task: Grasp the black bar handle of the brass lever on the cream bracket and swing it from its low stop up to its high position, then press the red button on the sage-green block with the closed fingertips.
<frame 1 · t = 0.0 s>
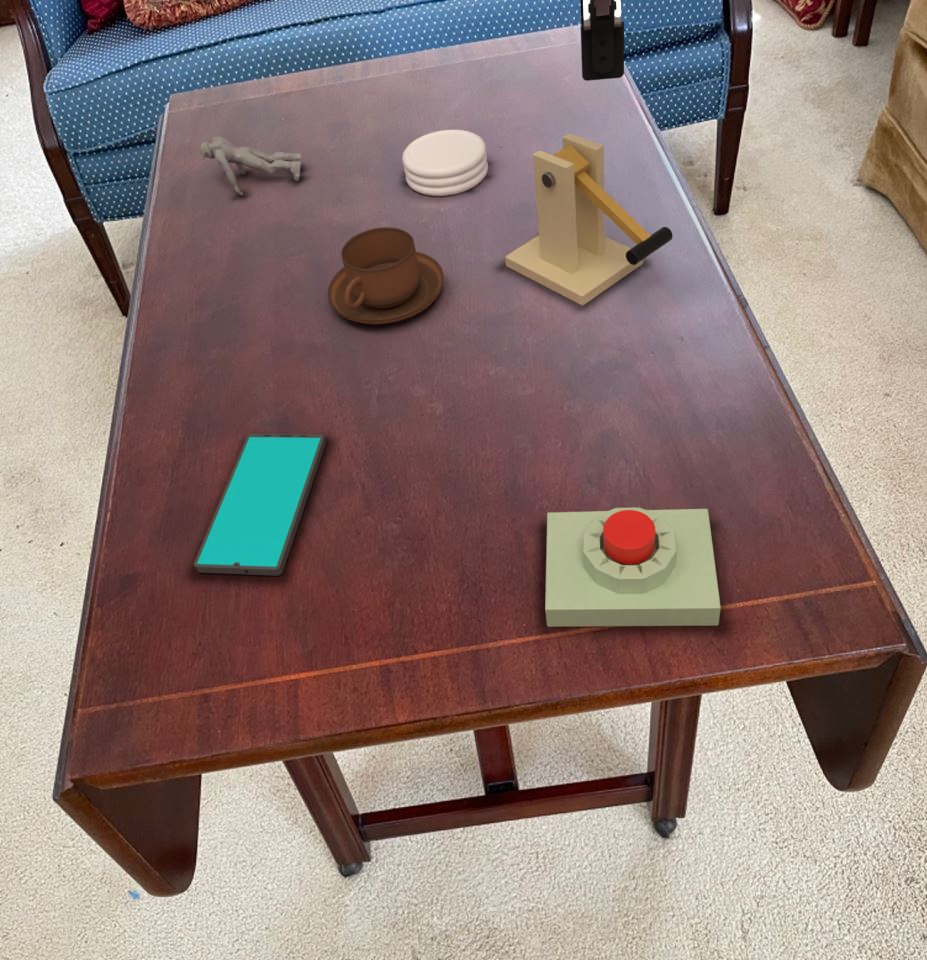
hand: (601, 50, 76), 24 cm above the table, tool pointing down, fingers open, 9 cm apart
soldier figurine: (260, 183, 118), on the table
cup and saucer: (389, 300, 97), on the table
button: (629, 536, 66), point 5 cm above the table, slide at 0.2 cm
button block: (629, 575, 70), on the table
lever: (606, 203, 88), point 9 cm above the table, hinge at -25.0°
coaster: (447, 177, 113), on the table
bracket: (573, 265, 97), on the table
smartphone: (265, 504, 79), on the table
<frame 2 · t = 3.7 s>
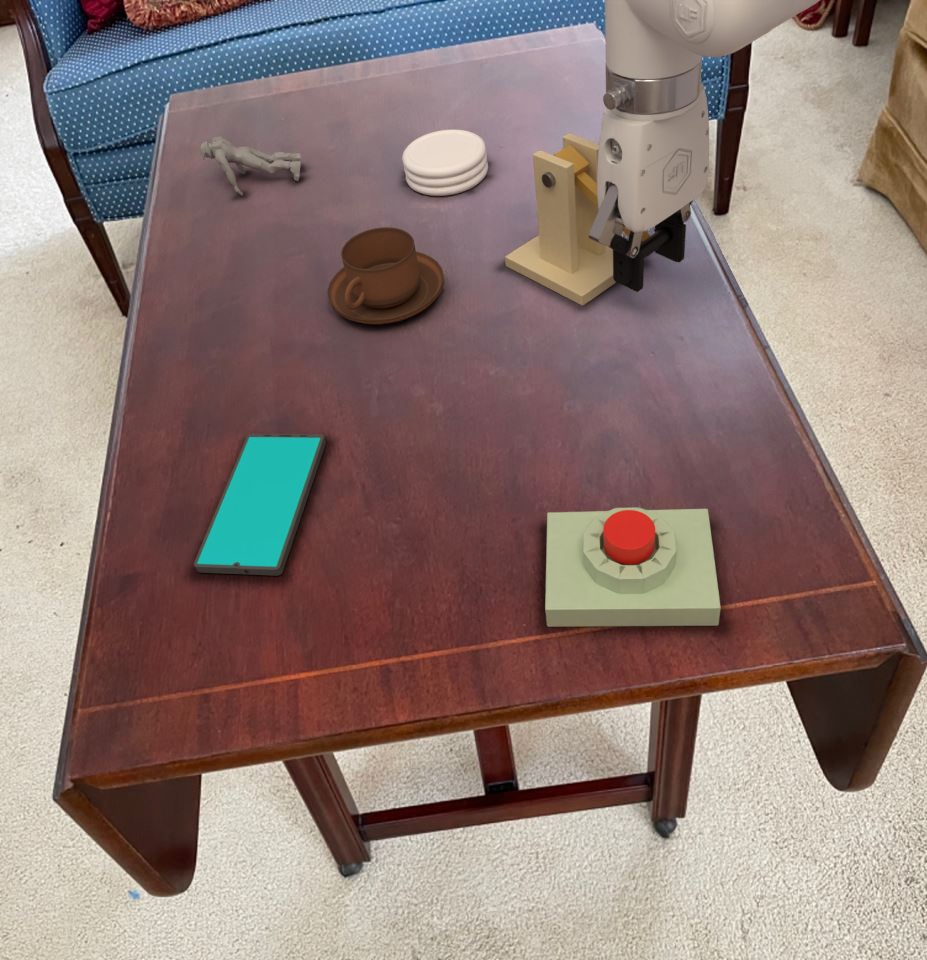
hand: (648, 269, 89), 4 cm above the table, tool pointing down, fingers closed on lever, 5 cm apart
lever: (606, 203, 88), point 9 cm above the table, hinge at -25.0°, touching gripper
everything else where it was.
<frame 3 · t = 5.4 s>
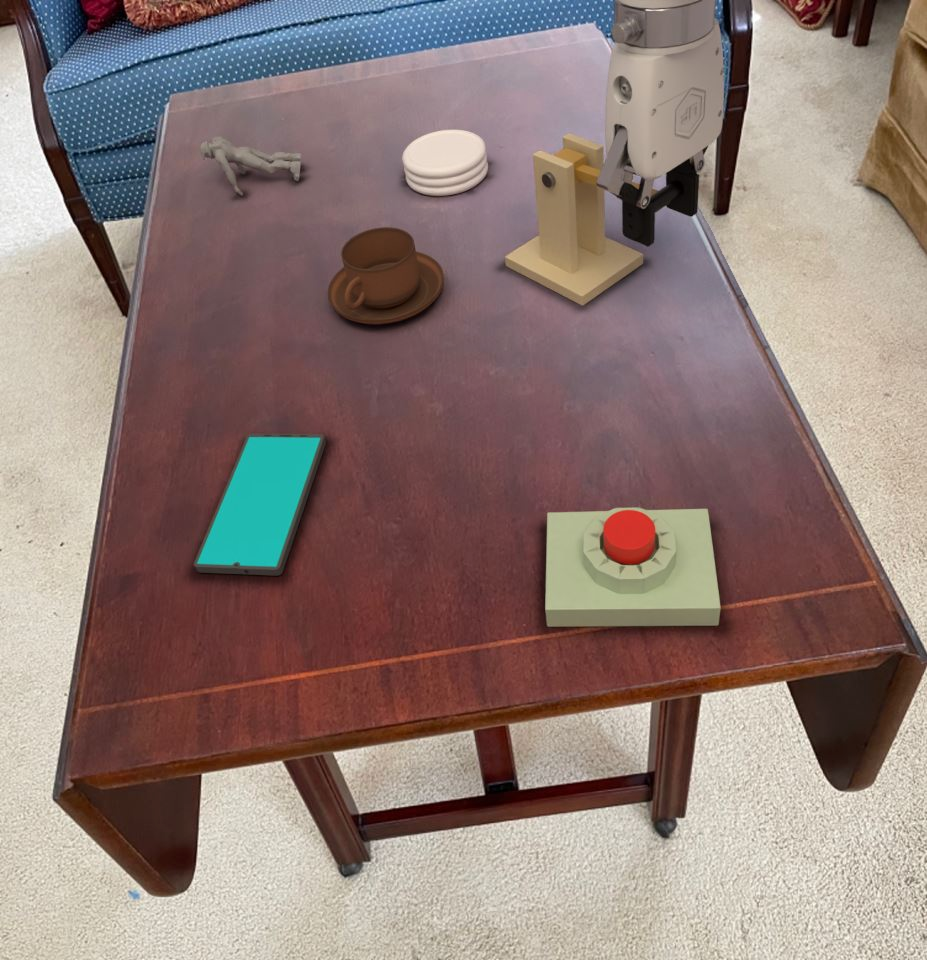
hand: (660, 223, 84), 9 cm above the table, tool pointing down, fingers closed on lever, 5 cm apart
lever: (609, 182, 86), point 11 cm above the table, hinge at 2.4°, touching gripper
everything else where it was.
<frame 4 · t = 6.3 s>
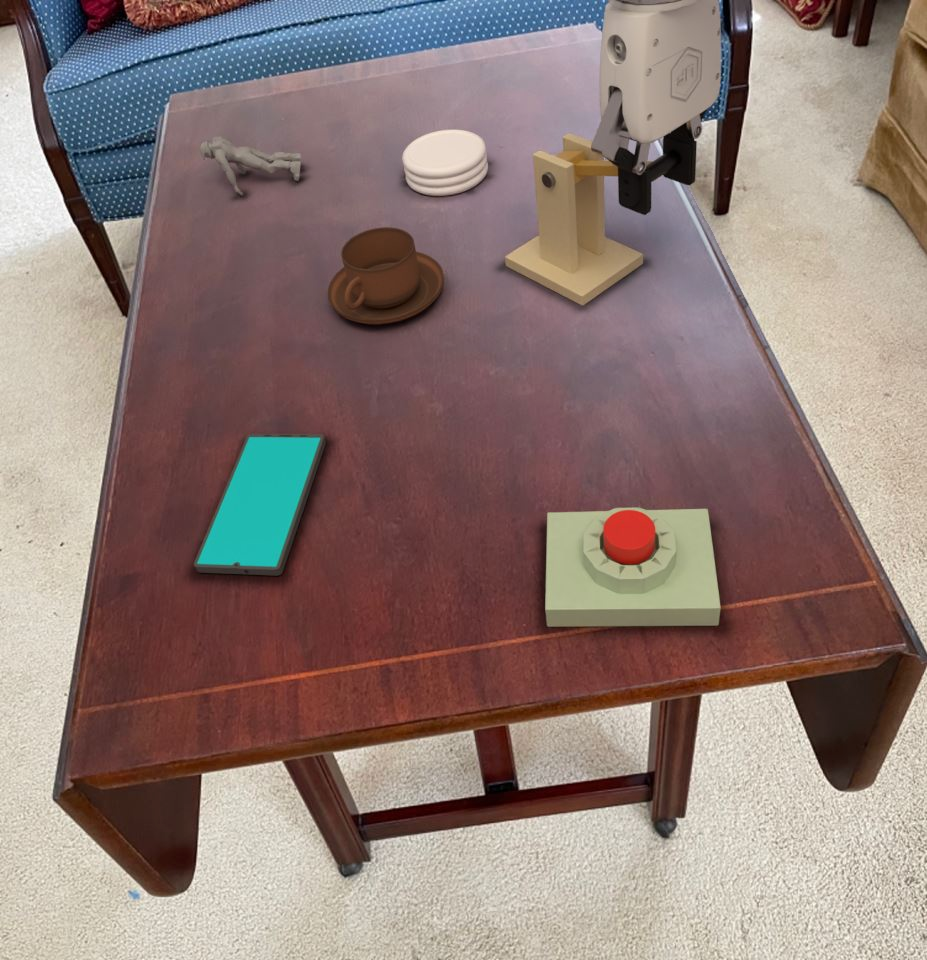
hand: (657, 192, 82), 12 cm above the table, tool pointing down, fingers closed on lever, 5 cm apart
lever: (607, 168, 85), point 13 cm above the table, hinge at 17.1°, touching gripper
everything else where it was.
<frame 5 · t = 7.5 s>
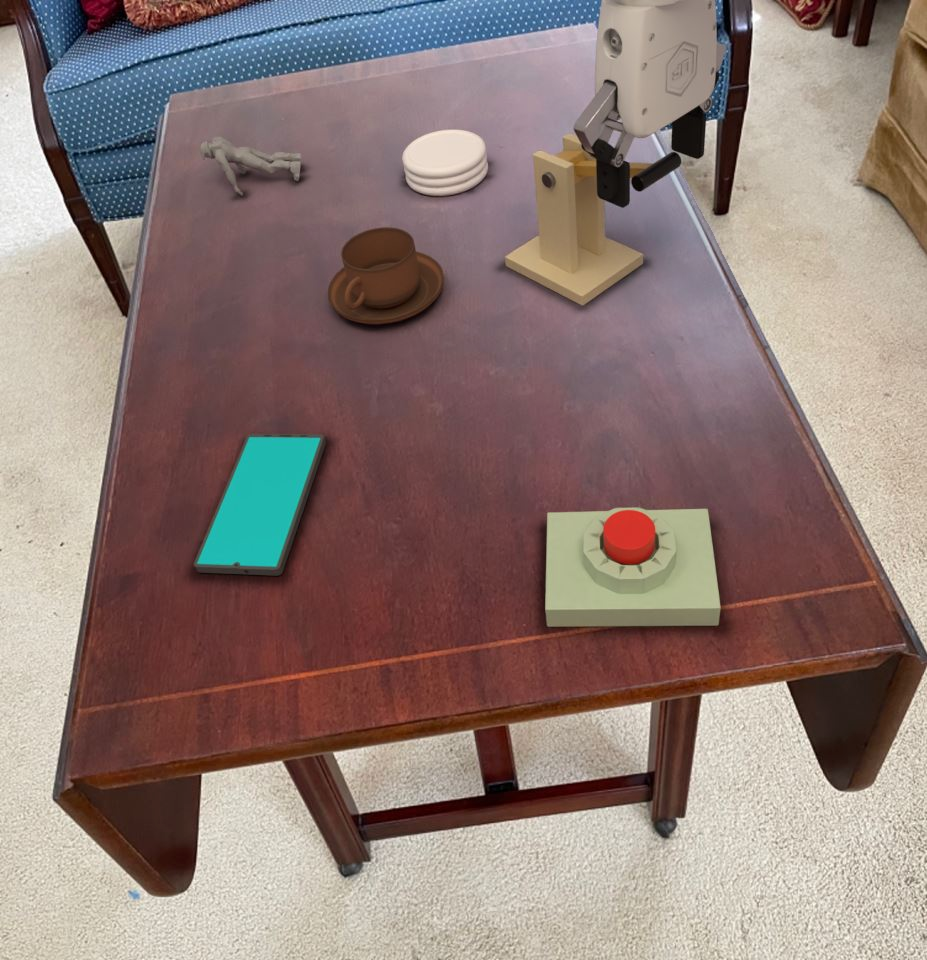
hand: (651, 177, 82), 13 cm above the table, tool pointing down, fingers open, 9 cm apart
lever: (607, 169, 85), point 12 cm above the table, hinge at 16.1°
everything else where it was.
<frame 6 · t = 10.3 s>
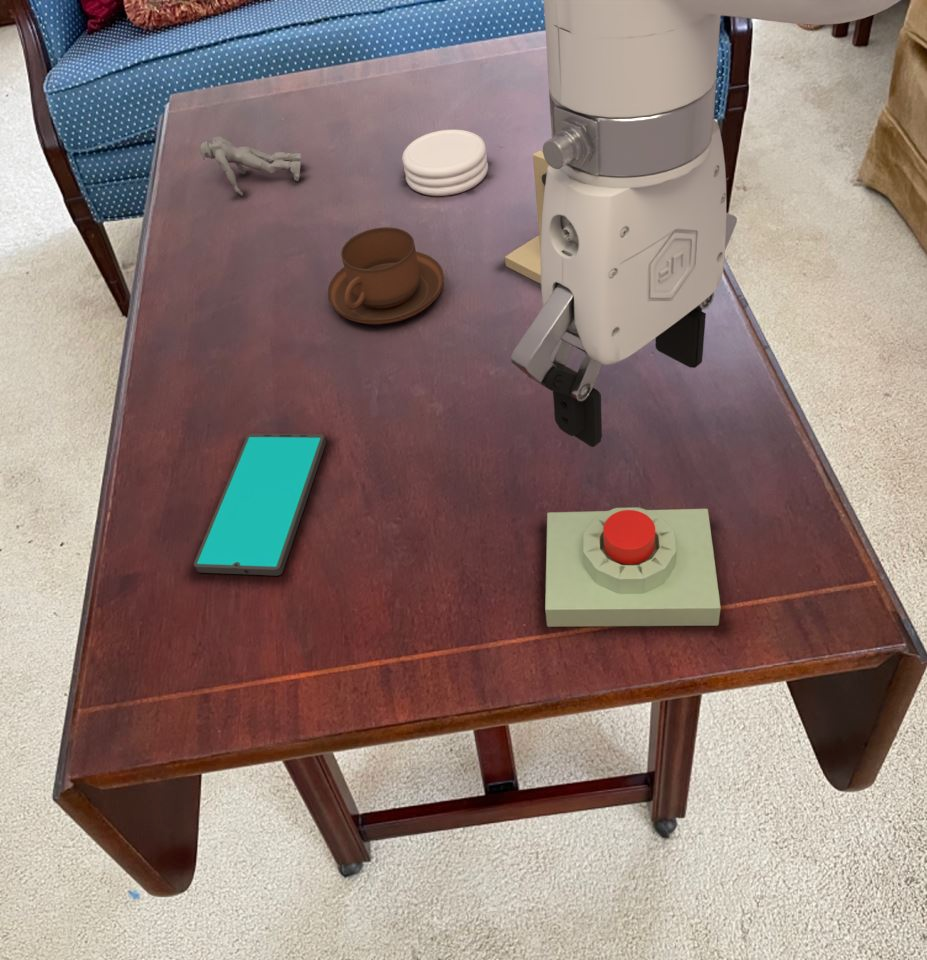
hand: (629, 393, 57), 18 cm above the table, tool pointing down, fingers open, 8 cm apart
nothing on the table moved.
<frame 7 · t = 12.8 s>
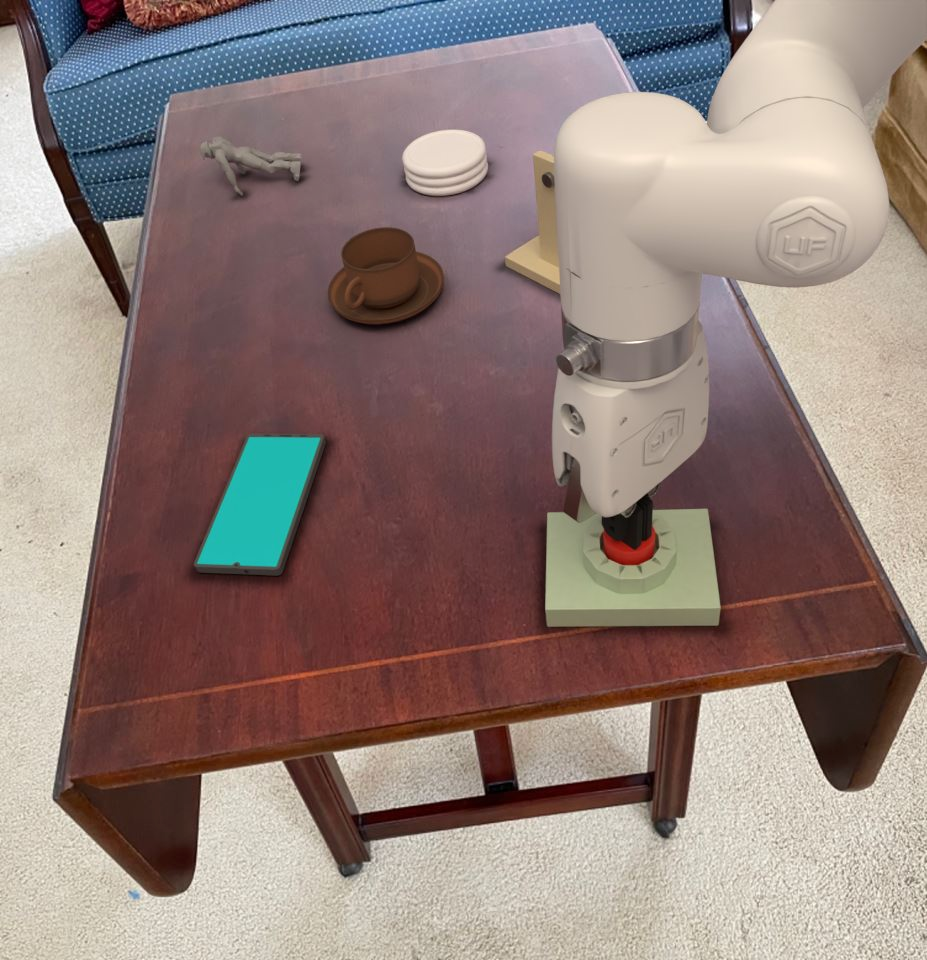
hand: (626, 532, 66), 5 cm above the table, tool pointing down, fingers closed
button: (629, 540, 67), point 4 cm above the table, slide at -0.3 cm, touching gripper
everything else where it was.
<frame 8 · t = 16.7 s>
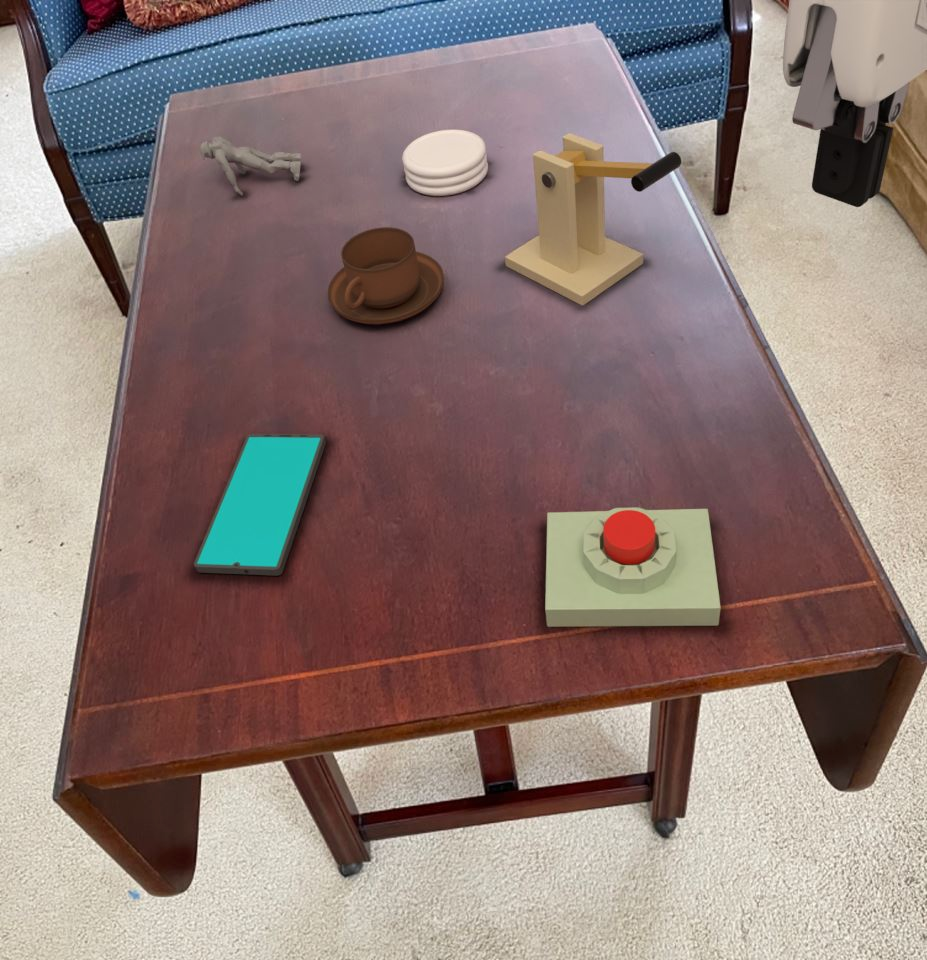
hand: (844, 192, 52), 27 cm above the table, tool pointing down, fingers closed
button: (629, 537, 66), point 5 cm above the table, slide at 0.1 cm
everything else where it was.
at the end: lever at +16° (first picture: -25°); button pushed in 1.1 cm at the most during the clip, back to where it started at the end; button slide at 0.1 cm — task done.
